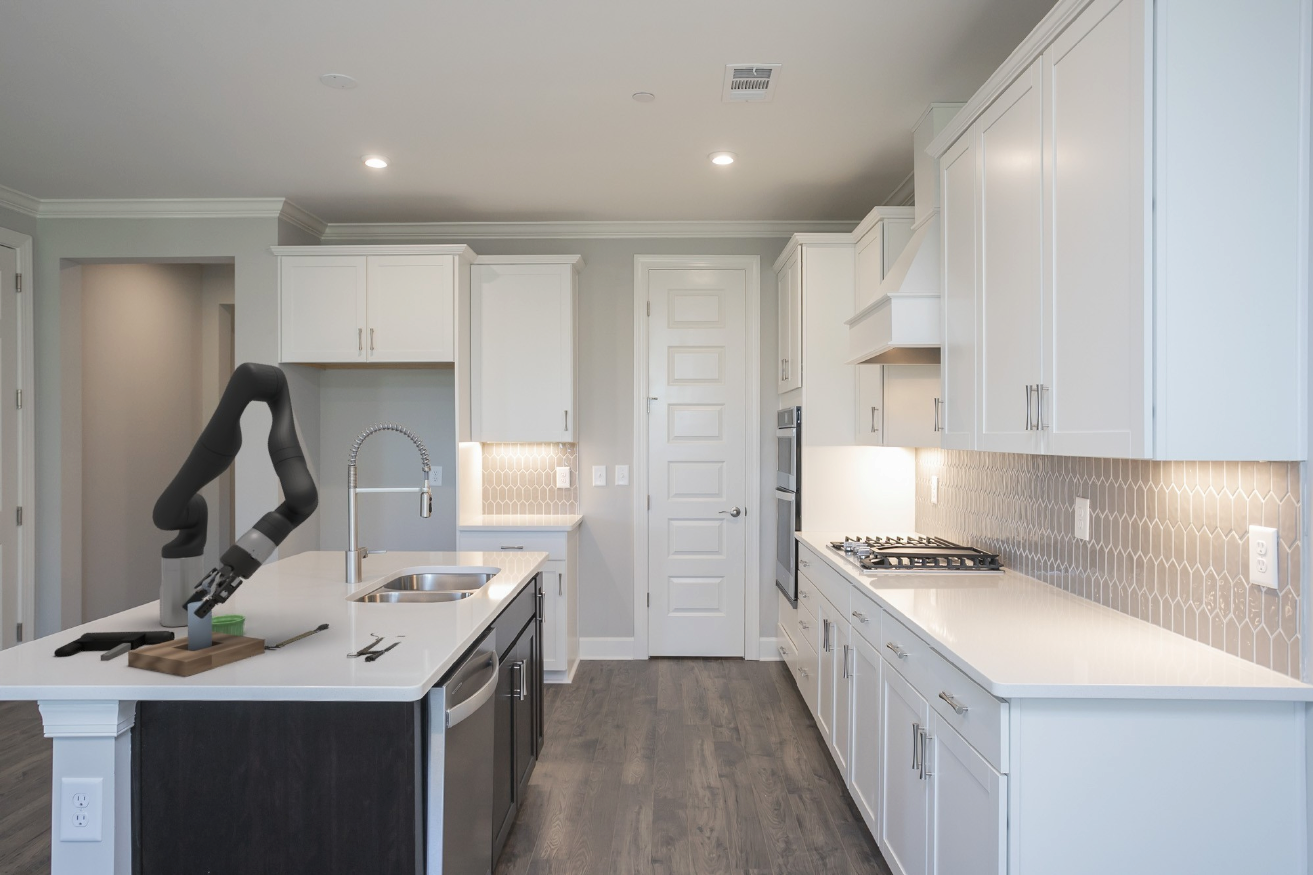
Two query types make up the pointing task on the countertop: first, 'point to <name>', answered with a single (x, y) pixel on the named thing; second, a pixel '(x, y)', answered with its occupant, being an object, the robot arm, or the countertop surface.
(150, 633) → the black angled piece
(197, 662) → the socket block
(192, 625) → the pin
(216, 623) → the ramekin
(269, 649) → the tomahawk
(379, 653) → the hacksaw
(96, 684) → the countertop surface
